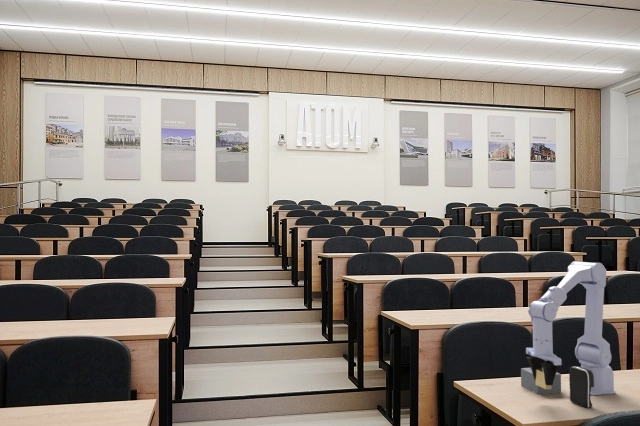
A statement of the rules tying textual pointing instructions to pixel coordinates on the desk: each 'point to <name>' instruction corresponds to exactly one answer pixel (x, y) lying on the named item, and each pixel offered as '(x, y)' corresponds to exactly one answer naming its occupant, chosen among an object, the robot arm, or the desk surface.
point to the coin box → (530, 384)
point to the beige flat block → (541, 379)
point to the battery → (581, 385)
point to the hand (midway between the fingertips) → (543, 382)
